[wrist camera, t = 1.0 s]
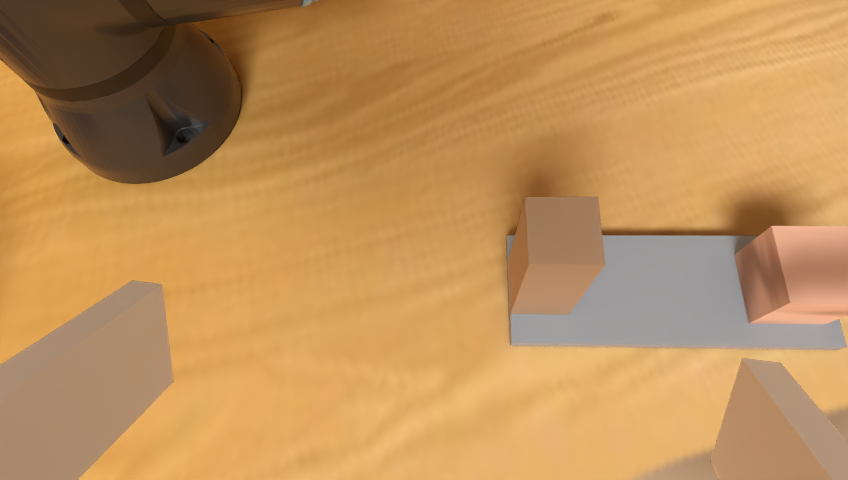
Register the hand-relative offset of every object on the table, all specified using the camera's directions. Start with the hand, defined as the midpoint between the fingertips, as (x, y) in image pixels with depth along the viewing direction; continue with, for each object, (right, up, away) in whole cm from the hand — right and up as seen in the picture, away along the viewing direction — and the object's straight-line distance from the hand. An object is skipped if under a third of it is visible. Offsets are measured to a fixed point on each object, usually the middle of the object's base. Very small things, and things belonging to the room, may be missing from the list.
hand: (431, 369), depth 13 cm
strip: (+17, -1, +27) cm, 32 cm away
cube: (+24, 0, +25) cm, 35 cm away
